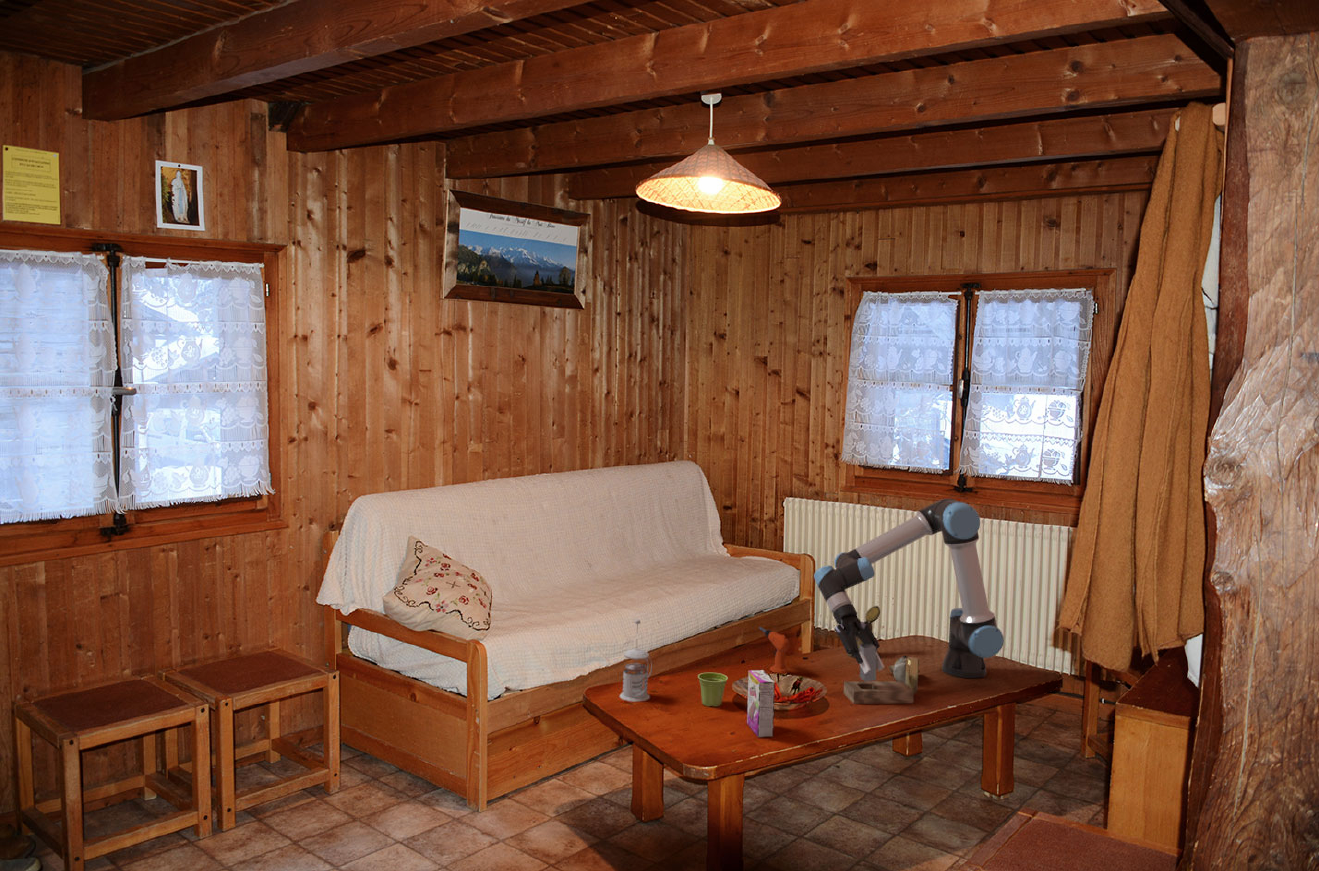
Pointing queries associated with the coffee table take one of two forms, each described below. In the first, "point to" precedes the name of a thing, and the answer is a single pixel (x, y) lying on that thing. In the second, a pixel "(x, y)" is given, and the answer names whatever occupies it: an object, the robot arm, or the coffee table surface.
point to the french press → (635, 675)
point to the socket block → (878, 692)
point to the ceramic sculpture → (900, 669)
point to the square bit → (869, 662)
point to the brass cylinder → (912, 673)
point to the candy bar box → (760, 703)
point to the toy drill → (778, 649)
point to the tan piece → (869, 622)
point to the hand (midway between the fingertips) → (874, 670)
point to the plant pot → (712, 688)
